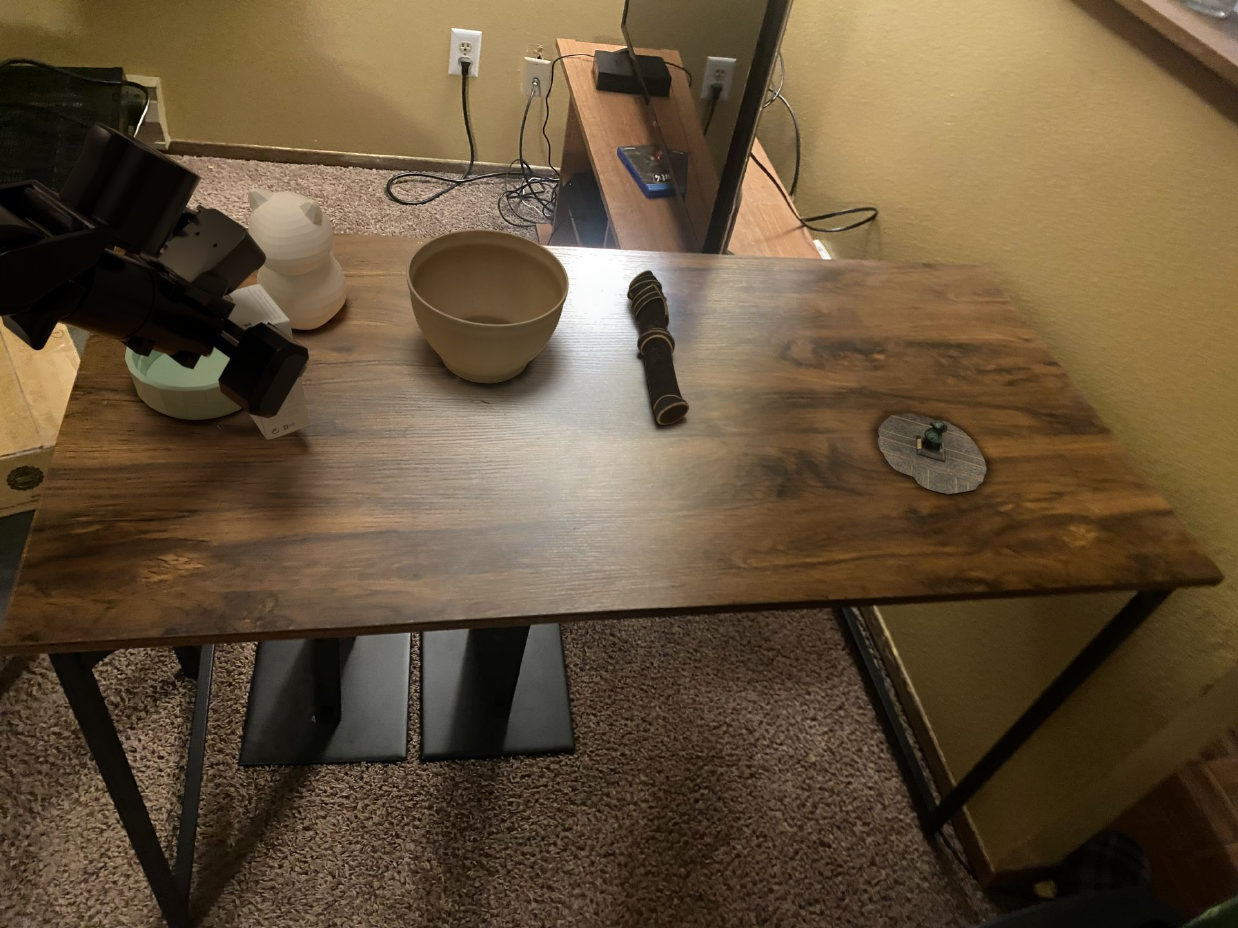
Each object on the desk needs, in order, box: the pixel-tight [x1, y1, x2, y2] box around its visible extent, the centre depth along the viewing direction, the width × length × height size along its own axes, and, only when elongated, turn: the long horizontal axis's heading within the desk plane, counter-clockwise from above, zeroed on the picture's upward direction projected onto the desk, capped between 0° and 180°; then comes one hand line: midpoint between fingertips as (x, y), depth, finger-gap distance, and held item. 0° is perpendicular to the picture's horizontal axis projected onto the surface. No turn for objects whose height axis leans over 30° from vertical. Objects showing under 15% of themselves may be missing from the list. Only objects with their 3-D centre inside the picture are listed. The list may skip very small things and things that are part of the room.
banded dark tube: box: [626, 269, 690, 426], centre depth 95 cm, size 4×5×25 cm
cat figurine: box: [247, 187, 348, 331], centre depth 87 cm, size 9×12×15 cm
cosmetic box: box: [223, 283, 311, 441], centre depth 72 cm, size 6×4×12 cm
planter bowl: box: [405, 228, 570, 384], centre depth 88 cm, size 16×16×11 cm
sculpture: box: [877, 412, 987, 495], centre depth 92 cm, size 12×9×8 cm
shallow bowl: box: [124, 346, 243, 421], centre depth 82 cm, size 12×12×4 cm
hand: (276, 352), depth 73 cm, fingers closed on cosmetic box, 6 cm apart
